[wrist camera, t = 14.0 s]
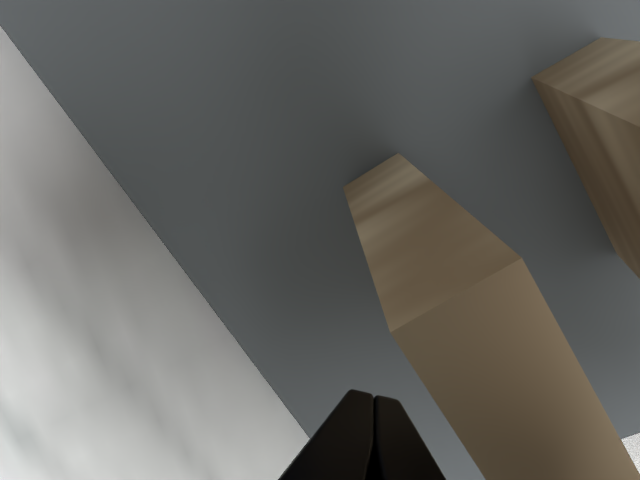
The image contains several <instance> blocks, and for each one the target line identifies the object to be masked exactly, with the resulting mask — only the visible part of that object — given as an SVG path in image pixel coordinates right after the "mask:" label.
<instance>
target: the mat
mask: <svg viewBox="0 0 640 480" xmlns="http://www.w3.org/2000/svg"><path fill="white" fill-rule="evenodd" d="M0 26H1V27H2V28H3V30H4V31H5V32H6V34H7V35H8V36H9V38H10V39H11V40H12V42H13V43H14V44H15V46H16V47H17V48H18V50H19V51H20V52H21V54H22V55H23V56H24V58H25V59H26V60H27V62H28V63H29V64H30V66H31V67H32V68H33V70H34V71H35V72H36V74H37V75H38V76H39V78H40V79H41V80H42V82H43V83H44V84H45V86H46V87H47V88H48V90H49V91H50V92H51V94H52V95H53V96H54V98H55V99H56V100H57V102H58V103H59V104H60V106H61V107H62V108H63V110H64V111H65V112H66V114H67V115H68V116H69V118H70V119H71V120H72V122H73V123H74V124H75V126H76V127H77V128H78V130H79V131H80V132H81V134H82V135H83V136H84V138H85V139H86V140H87V142H88V143H89V144H90V146H91V147H92V148H93V150H94V151H95V152H96V154H97V155H98V156H99V158H100V159H101V160H102V162H103V163H104V164H105V166H106V167H107V168H108V170H109V171H110V172H111V174H112V175H113V176H114V178H115V179H116V180H117V182H118V183H119V184H120V186H121V187H122V188H123V190H124V191H125V192H126V194H127V195H128V196H129V198H130V199H131V200H132V202H133V203H134V204H135V206H136V207H137V208H138V210H139V211H140V212H141V214H142V215H143V216H144V218H145V219H146V220H147V222H148V223H149V225H150V226H151V227H152V229H153V230H154V231H155V233H156V234H157V235H158V237H159V238H160V239H161V241H162V242H163V243H164V245H165V246H166V247H167V249H168V250H169V251H170V253H171V254H172V255H173V257H174V258H175V259H176V261H177V262H178V263H179V265H180V266H181V267H182V269H183V270H184V271H185V273H186V274H187V275H188V277H189V278H190V279H191V281H192V282H193V283H194V285H195V286H196V287H197V289H198V290H199V291H200V293H201V294H202V295H203V297H204V298H205V299H206V301H207V302H208V303H209V305H210V306H211V307H212V309H213V310H214V311H215V313H216V314H217V315H218V317H219V318H220V319H221V321H222V322H223V323H224V325H225V326H226V327H227V329H228V330H229V331H230V333H231V334H232V335H233V337H234V338H235V339H236V341H237V342H238V343H239V345H240V346H241V347H242V349H243V350H244V351H245V353H246V354H247V355H248V357H249V358H250V359H251V361H252V362H253V363H254V365H255V366H256V367H257V369H258V370H259V371H260V373H261V374H262V375H263V377H264V378H265V379H266V381H267V382H268V383H269V385H270V386H271V387H272V389H273V390H274V391H275V393H276V394H277V395H278V397H279V398H280V399H281V401H282V402H283V403H284V405H285V406H286V407H287V409H288V410H289V411H290V413H291V414H292V415H293V417H294V418H295V419H296V421H297V422H298V423H299V425H300V426H301V427H302V429H303V430H304V431H305V433H306V434H307V435H308V437H309V438H311V437H312V436H313V435H314V433H315V432H316V431H317V430H318V428H319V427H320V426H321V425H322V423H323V422H324V421H325V419H326V418H327V417H328V416H329V414H330V413H331V412H332V411H333V409H334V408H335V407H336V406H337V404H338V403H339V402H340V401H341V399H342V398H343V397H344V395H345V394H346V393H347V392H348V391H349V390H350V389H355V390H359V391H363V392H368V393H371V394H372V395H373V397H375V396H376V395H381V396H385V397H390V398H394V399H397V400H399V401H400V402H401V404H402V406H403V407H404V409H405V411H406V412H407V414H408V416H409V417H410V419H411V421H412V422H413V424H414V426H415V427H416V429H417V431H418V433H419V434H420V436H421V438H422V439H423V441H424V443H425V444H426V446H427V448H428V449H429V451H430V453H431V454H432V456H433V458H434V459H435V461H436V463H437V465H438V466H439V468H440V470H441V471H442V473H443V475H444V476H445V478H446V480H486V479H485V478H484V476H483V475H482V473H481V472H480V470H479V468H478V467H477V465H476V464H475V462H474V461H473V459H472V458H471V456H470V455H469V453H468V452H467V450H466V448H465V447H464V445H463V444H462V442H461V441H460V439H459V438H458V436H457V435H456V433H455V432H454V430H453V428H452V427H451V425H450V424H449V422H448V421H447V419H446V418H445V416H444V415H443V413H442V412H441V410H440V408H439V407H438V405H437V404H436V402H435V401H434V399H433V398H432V396H431V395H430V393H429V392H428V390H427V388H426V387H425V385H424V384H423V382H422V381H421V379H420V378H419V376H418V375H417V373H416V372H415V370H414V368H413V367H412V365H411V364H410V362H409V361H408V359H407V358H406V356H405V355H404V353H403V352H402V350H401V349H400V347H399V345H398V344H397V342H396V341H395V339H394V338H393V336H392V335H391V333H390V331H389V328H388V325H387V322H386V318H385V315H384V312H383V309H382V306H381V303H380V300H379V297H378V294H377V291H376V288H375V285H374V282H373V279H372V275H371V272H370V269H369V266H368V263H367V260H366V257H365V254H364V251H363V248H362V245H361V242H360V239H359V236H358V233H357V229H356V226H355V223H354V220H353V217H352V214H351V211H350V208H349V205H348V202H347V199H346V196H345V193H344V190H343V187H344V186H345V185H347V184H349V183H350V182H352V181H353V180H355V179H357V178H358V177H360V176H361V175H363V174H365V173H366V172H368V171H370V170H371V169H373V168H374V167H376V166H378V165H379V164H381V163H383V162H384V161H386V160H387V159H389V158H391V157H392V156H394V155H396V154H397V153H399V154H400V155H402V156H403V157H404V158H405V159H406V160H408V161H409V162H410V163H411V164H412V165H413V166H415V167H416V168H417V169H418V170H419V171H420V172H422V173H423V174H424V175H425V176H426V177H428V178H429V179H430V180H431V181H432V182H433V183H435V184H436V185H437V186H438V187H439V188H440V189H442V190H443V191H444V192H445V193H446V194H448V195H449V196H450V197H451V198H452V199H453V200H455V201H456V202H457V203H458V204H459V205H460V206H462V207H463V208H464V209H465V210H466V211H468V212H469V213H470V214H471V215H472V216H473V217H475V218H476V219H477V220H478V221H479V222H480V223H482V224H483V225H484V226H485V227H486V228H488V229H489V230H490V231H491V232H492V233H493V234H495V235H496V236H497V237H498V238H499V239H500V240H502V241H503V242H504V243H505V244H506V245H507V246H509V247H510V248H511V249H512V250H513V251H515V252H516V253H517V254H518V255H519V256H520V257H522V259H523V261H524V263H525V264H526V266H527V268H528V270H529V272H530V274H531V275H532V277H533V279H534V281H535V283H536V285H537V286H538V288H539V290H540V292H541V294H542V296H543V298H544V299H545V301H546V303H547V305H548V307H549V309H550V310H551V312H552V314H553V316H554V318H555V320H556V321H557V323H558V325H559V327H560V329H561V331H562V332H563V334H564V336H565V338H566V340H567V342H568V344H569V345H570V347H571V349H572V351H573V353H574V355H575V356H576V358H577V360H578V362H579V364H580V366H581V367H582V369H583V371H584V373H585V375H586V377H587V379H588V380H589V382H590V384H591V386H592V388H593V390H594V391H595V393H596V395H597V397H598V399H599V401H600V402H601V404H602V406H603V408H604V410H605V412H606V413H607V415H608V417H609V419H610V421H611V423H612V425H613V426H614V428H615V430H616V432H617V434H618V436H619V437H620V439H622V438H625V437H628V436H631V435H634V434H637V433H640V279H639V278H638V276H637V275H636V274H635V273H634V272H633V271H632V270H631V269H630V268H629V267H628V266H627V265H626V264H625V262H624V261H623V260H622V259H621V258H620V257H619V256H618V255H617V253H616V251H615V249H614V247H613V245H612V243H611V241H610V239H609V237H608V235H607V233H606V231H605V229H604V227H603V225H602V223H601V220H600V218H599V216H598V214H597V212H596V210H595V208H594V206H593V204H592V202H591V200H590V198H589V196H588V194H587V192H586V190H585V188H584V186H583V183H582V181H581V179H580V177H579V175H578V173H577V171H576V169H575V167H574V165H573V163H572V161H571V159H570V157H569V155H568V153H567V151H566V148H565V146H564V144H563V142H562V140H561V138H560V136H559V134H558V132H557V130H556V128H555V126H554V124H553V122H552V120H551V118H550V116H549V113H548V111H547V109H546V107H545V105H544V103H543V101H542V99H541V97H540V95H539V93H538V91H537V89H536V87H535V85H534V83H533V81H532V79H531V77H532V76H534V75H536V74H538V73H539V72H541V71H543V70H545V69H546V68H548V67H550V66H552V65H554V64H555V63H557V62H559V61H561V60H562V59H564V58H566V57H568V56H569V55H571V54H573V53H575V52H576V51H578V50H580V49H582V48H583V47H585V46H587V45H589V44H590V43H592V42H594V41H596V40H597V39H599V38H601V37H603V38H612V39H621V40H631V41H640V0H0Z"/></svg>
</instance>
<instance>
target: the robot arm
mask: <svg viewBox="0 0 640 480" xmlns="http://www.w3.org/2000/svg"><path fill="white" fill-rule="evenodd" d="M278 480H446V478H445V476H444V475H443V473H442V471H441V470H440V468H439V466H438V465H437V463H436V461H435V459H434V458H433V456H432V454H431V453H430V451H429V449H428V448H427V446H426V444H425V443H424V441H423V439H422V438H421V436H420V434H419V433H418V431H417V429H416V427H415V426H414V424H413V422H412V421H411V419H410V417H409V416H408V414H407V412H406V411H405V409H404V407H403V406H402V404H401V402H400V401H399V400H397V399H394V398H390V397H385V396H381V395H376V396H375V397H373V395H372V394H371V393H368V392H363V391H359V390H355V389H350V390H349V391H348V392H347V393H346V394H345V395H344V397H343V398H342V399H341V401H340V402H339V403H338V404H337V406H336V407H335V408H334V409H333V411H332V412H331V413H330V414H329V416H328V417H327V418H326V419H325V421H324V422H323V423H322V425H321V426H320V427H319V428H318V430H317V431H316V432H315V433H314V435H313V436H312V437H311V438H310V440H309V441H308V442H307V444H306V445H305V446H304V447H303V449H302V450H301V451H300V452H299V454H298V455H297V456H296V457H295V459H294V460H293V461H292V463H291V464H290V465H289V466H288V468H287V469H286V470H285V471H284V473H283V474H282V475H281V476H280V478H279V479H278Z"/></svg>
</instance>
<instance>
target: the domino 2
mask: <svg viewBox="0 0 640 480" xmlns="http://www.w3.org/2000/svg"><path fill="white" fill-rule="evenodd" d="M531 79H532V81H533V83H534V85H535V87H536V89H537V91H538V93H539V95H540V97H541V99H542V101H543V103H544V105H545V107H546V109H547V111H548V113H549V116H550V118H551V120H552V122H553V124H554V126H555V128H556V130H557V132H558V134H559V136H560V138H561V140H562V142H563V144H564V146H565V148H566V151H567V153H568V155H569V157H570V159H571V161H572V163H573V165H574V167H575V169H576V171H577V173H578V175H579V177H580V179H581V181H582V183H583V186H584V188H585V190H586V192H587V194H588V196H589V198H590V200H591V202H592V204H593V206H594V208H595V210H596V212H597V214H598V216H599V218H600V220H601V223H602V225H603V227H604V229H605V231H606V233H607V235H608V237H609V239H610V241H611V243H612V245H613V247H614V249H615V251H616V253H617V255H618V256H619V257H620V258H621V259H622V260H623V261H624V262H625V264H626V265H627V266H628V267H629V268H630V269H631V270H632V271H633V272H634V273H635V274H636V275H637V276H638V278H639V279H640V41H631V40H621V39H612V38H603V37H601V38H599V39H597V40H596V41H594V42H592V43H590V44H589V45H587V46H585V47H583V48H582V49H580V50H578V51H576V52H575V53H573V54H571V55H569V56H568V57H566V58H564V59H562V60H561V61H559V62H557V63H555V64H554V65H552V66H550V67H548V68H546V69H545V70H543V71H541V72H539V73H538V74H536V75H534V76H532V77H531Z"/></svg>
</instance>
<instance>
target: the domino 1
mask: <svg viewBox="0 0 640 480" xmlns="http://www.w3.org/2000/svg"><path fill="white" fill-rule="evenodd" d="M343 190H344V193H345V196H346V199H347V202H348V205H349V208H350V211H351V214H352V217H353V220H354V223H355V226H356V229H357V233H358V236H359V239H360V242H361V245H362V248H363V251H364V254H365V257H366V260H367V263H368V266H369V269H370V272H371V275H372V279H373V282H374V285H375V288H376V291H377V294H378V297H379V300H380V303H381V306H382V309H383V312H384V315H385V318H386V322H387V325H388V328H389V331H390V333H391V335H392V336H393V338H394V339H395V341H396V342H397V344H398V345H399V347H400V349H401V350H402V352H403V353H404V355H405V356H406V358H407V359H408V361H409V362H410V364H411V365H412V367H413V368H414V370H415V372H416V373H417V375H418V376H419V378H420V379H421V381H422V382H423V384H424V385H425V387H426V388H427V390H428V392H429V393H430V395H431V396H432V398H433V399H434V401H435V402H436V404H437V405H438V407H439V408H440V410H441V412H442V413H443V415H444V416H445V418H446V419H447V421H448V422H449V424H450V425H451V427H452V428H453V430H454V432H455V433H456V435H457V436H458V438H459V439H460V441H461V442H462V444H463V445H464V447H465V448H466V450H467V452H468V453H469V455H470V456H471V458H472V459H473V461H474V462H475V464H476V465H477V467H478V468H479V470H480V472H481V473H482V475H483V476H484V478H485V479H486V480H640V474H639V472H638V471H637V469H636V467H635V465H634V463H633V461H632V459H631V458H630V456H629V454H628V452H627V450H626V448H625V447H624V445H623V443H622V441H621V439H620V437H619V436H618V434H617V432H616V430H615V428H614V426H613V425H612V423H611V421H610V419H609V417H608V415H607V413H606V412H605V410H604V408H603V406H602V404H601V402H600V401H599V399H598V397H597V395H596V393H595V391H594V390H593V388H592V386H591V384H590V382H589V380H588V379H587V377H586V375H585V373H584V371H583V369H582V367H581V366H580V364H579V362H578V360H577V358H576V356H575V355H574V353H573V351H572V349H571V347H570V345H569V344H568V342H567V340H566V338H565V336H564V334H563V332H562V331H561V329H560V327H559V325H558V323H557V321H556V320H555V318H554V316H553V314H552V312H551V310H550V309H549V307H548V305H547V303H546V301H545V299H544V298H543V296H542V294H541V292H540V290H539V288H538V286H537V285H536V283H535V281H534V279H533V277H532V275H531V274H530V272H529V270H528V268H527V266H526V264H525V263H524V261H523V259H522V257H520V256H519V255H518V254H517V253H516V252H515V251H513V250H512V249H511V248H510V247H509V246H507V245H506V244H505V243H504V242H503V241H502V240H500V239H499V238H498V237H497V236H496V235H495V234H493V233H492V232H491V231H490V230H489V229H488V228H486V227H485V226H484V225H483V224H482V223H480V222H479V221H478V220H477V219H476V218H475V217H473V216H472V215H471V214H470V213H469V212H468V211H466V210H465V209H464V208H463V207H462V206H460V205H459V204H458V203H457V202H456V201H455V200H453V199H452V198H451V197H450V196H449V195H448V194H446V193H445V192H444V191H443V190H442V189H440V188H439V187H438V186H437V185H436V184H435V183H433V182H432V181H431V180H430V179H429V178H428V177H426V176H425V175H424V174H423V173H422V172H420V171H419V170H418V169H417V168H416V167H415V166H413V165H412V164H411V163H410V162H409V161H408V160H406V159H405V158H404V157H403V156H402V155H400V154H399V153H397V154H396V155H394V156H392V157H391V158H389V159H387V160H386V161H384V162H383V163H381V164H379V165H378V166H376V167H374V168H373V169H371V170H370V171H368V172H366V173H365V174H363V175H361V176H360V177H358V178H357V179H355V180H353V181H352V182H350V183H349V184H347V185H345V186H344V187H343Z"/></svg>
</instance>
